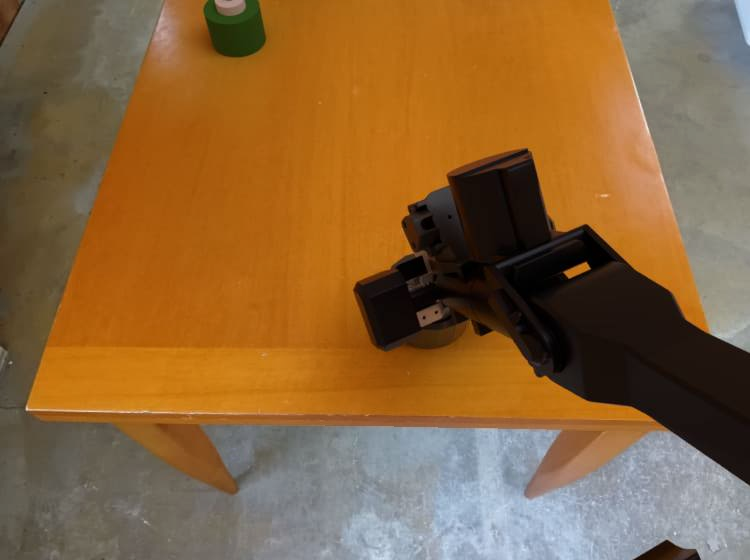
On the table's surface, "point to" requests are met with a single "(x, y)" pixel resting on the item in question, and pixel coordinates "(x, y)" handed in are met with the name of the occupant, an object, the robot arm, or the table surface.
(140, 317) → the table surface
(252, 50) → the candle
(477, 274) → the robot arm
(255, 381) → the table surface
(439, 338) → the holder
